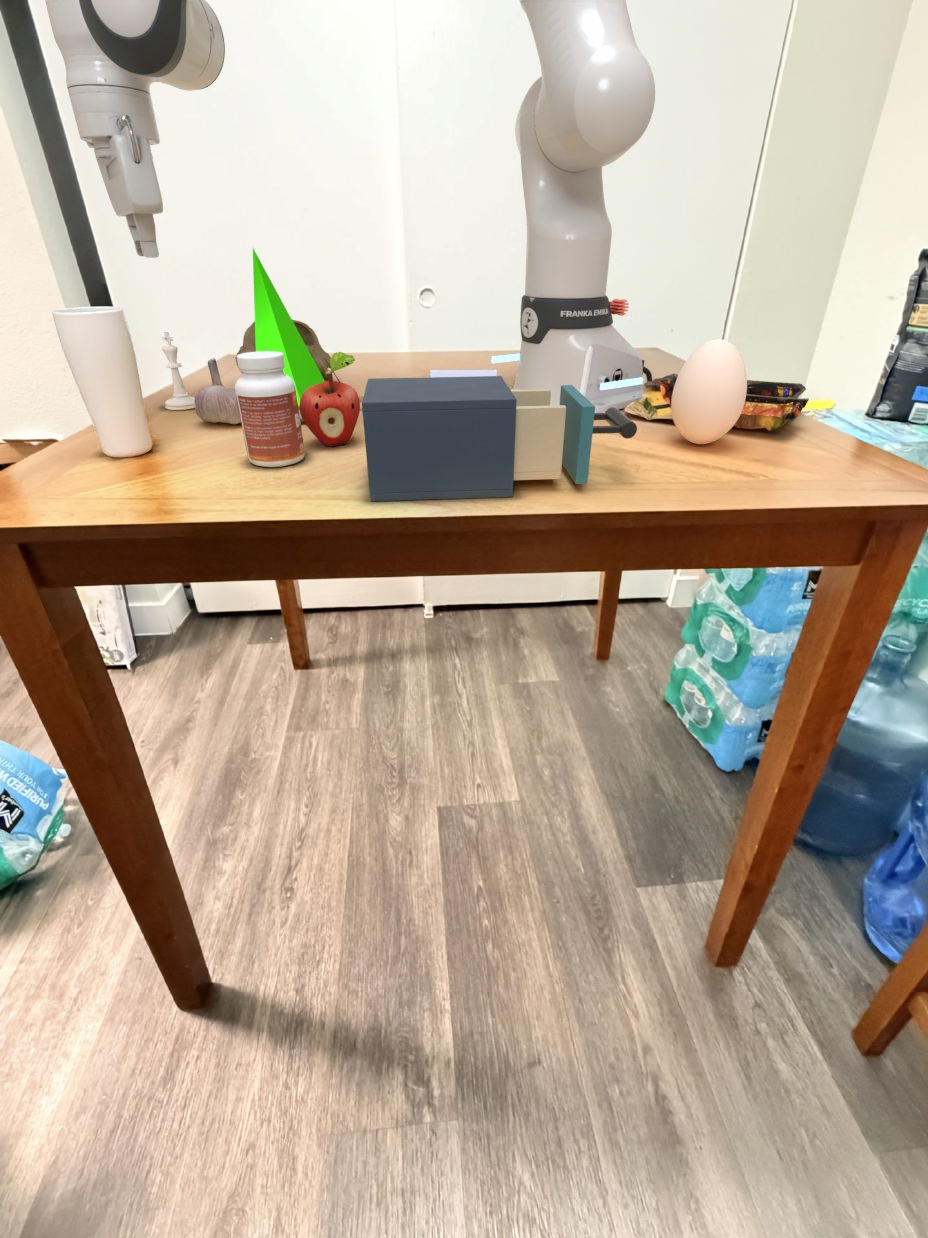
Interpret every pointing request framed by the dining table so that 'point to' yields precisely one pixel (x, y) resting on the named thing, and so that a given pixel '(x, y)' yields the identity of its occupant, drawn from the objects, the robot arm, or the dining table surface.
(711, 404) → the egg
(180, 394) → the chess piece
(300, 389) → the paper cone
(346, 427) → the apple
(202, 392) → the garlic bulb
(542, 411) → the drawer
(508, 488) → the cabinet
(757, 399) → the food
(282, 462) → the pill bottle
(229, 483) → the dining table surface
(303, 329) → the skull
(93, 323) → the drinking glass
